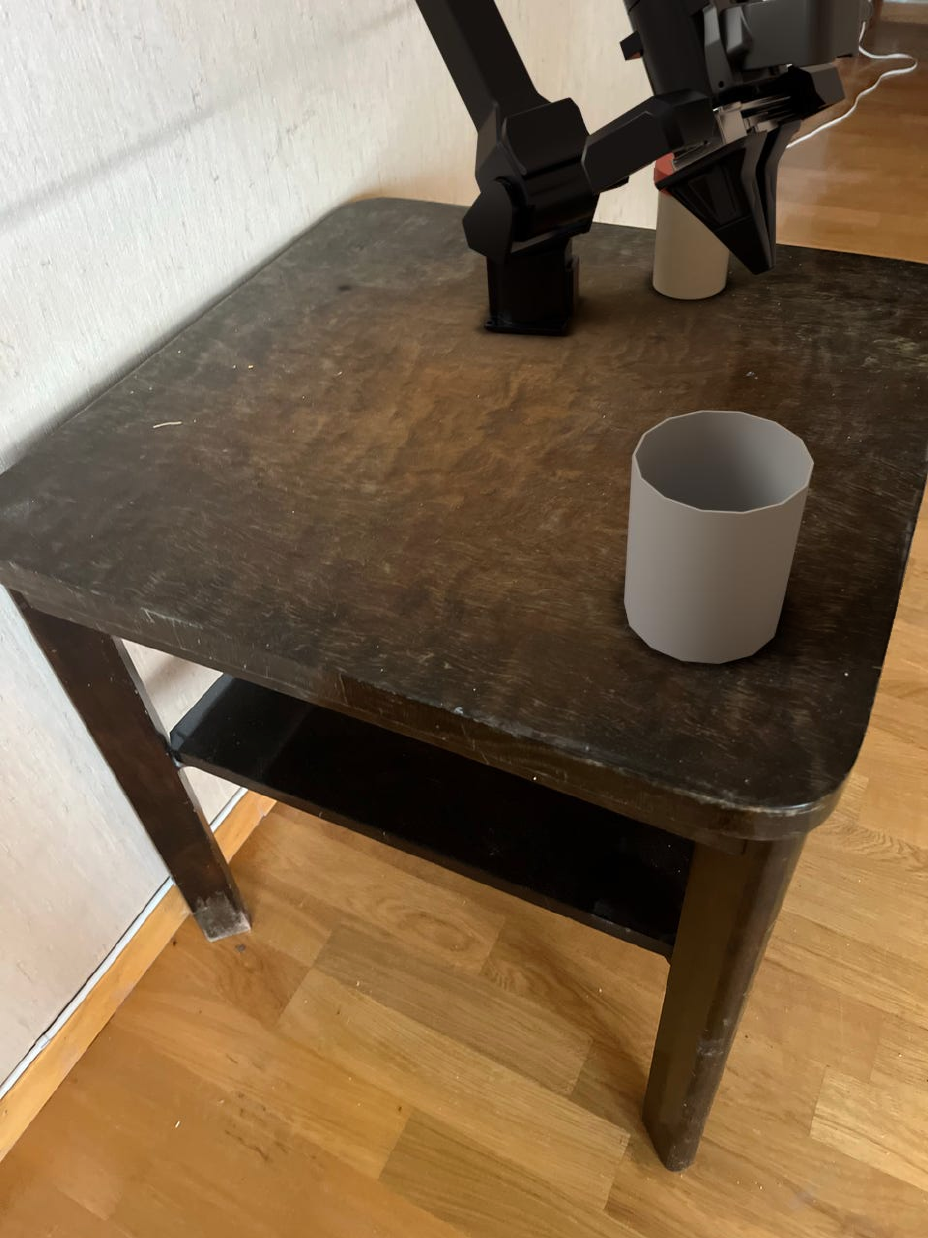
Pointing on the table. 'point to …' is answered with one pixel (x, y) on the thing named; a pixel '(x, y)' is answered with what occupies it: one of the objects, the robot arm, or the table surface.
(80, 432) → the table surface
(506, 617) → the table surface
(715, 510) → the cup
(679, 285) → the jar
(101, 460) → the table surface
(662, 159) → the lid
